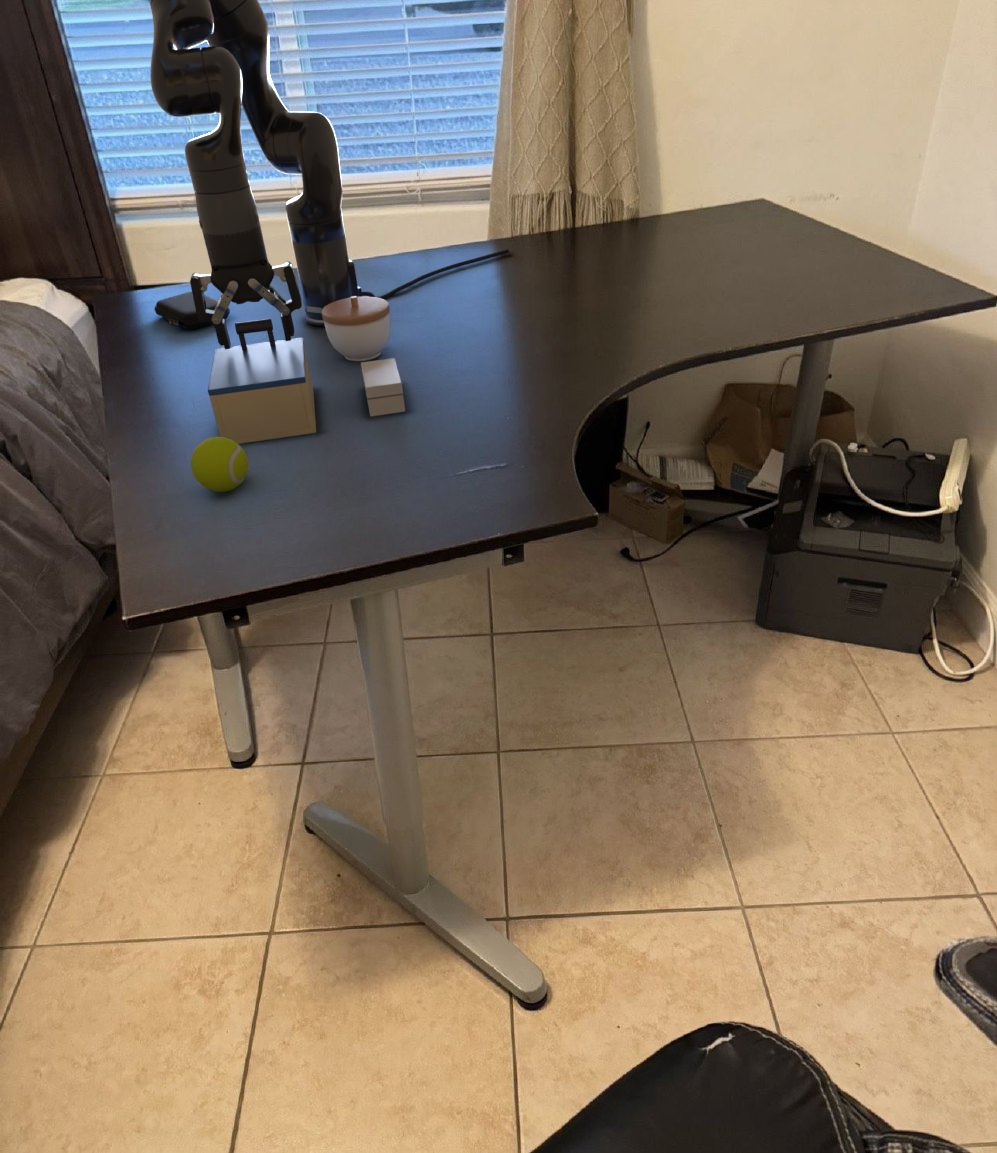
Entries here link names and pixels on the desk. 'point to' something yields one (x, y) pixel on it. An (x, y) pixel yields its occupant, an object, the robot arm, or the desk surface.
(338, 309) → the white bowl with lid
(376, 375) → the beige case
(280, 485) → the desk surface
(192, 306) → the carrying case
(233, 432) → the storage box
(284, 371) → the blue lid
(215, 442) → the tennis ball
